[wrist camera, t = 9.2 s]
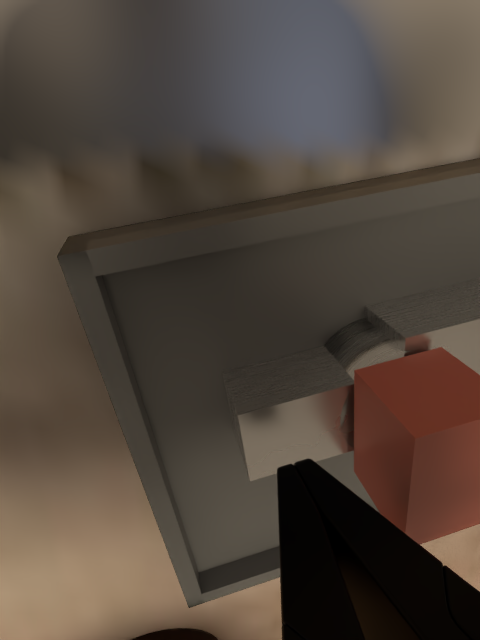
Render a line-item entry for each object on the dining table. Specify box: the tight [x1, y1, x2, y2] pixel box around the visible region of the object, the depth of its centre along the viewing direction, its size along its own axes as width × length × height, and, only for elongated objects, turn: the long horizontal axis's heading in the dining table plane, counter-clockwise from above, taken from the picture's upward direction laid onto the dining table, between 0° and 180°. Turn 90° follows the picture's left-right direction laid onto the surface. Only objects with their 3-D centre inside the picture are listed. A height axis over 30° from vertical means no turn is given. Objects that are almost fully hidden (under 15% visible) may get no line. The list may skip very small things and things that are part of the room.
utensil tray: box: [57, 158, 480, 608], centre depth 14 cm, size 23×14×2 cm, turn 98°
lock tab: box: [354, 347, 480, 544], centre depth 10 cm, size 2×4×2 cm, turn 8°
